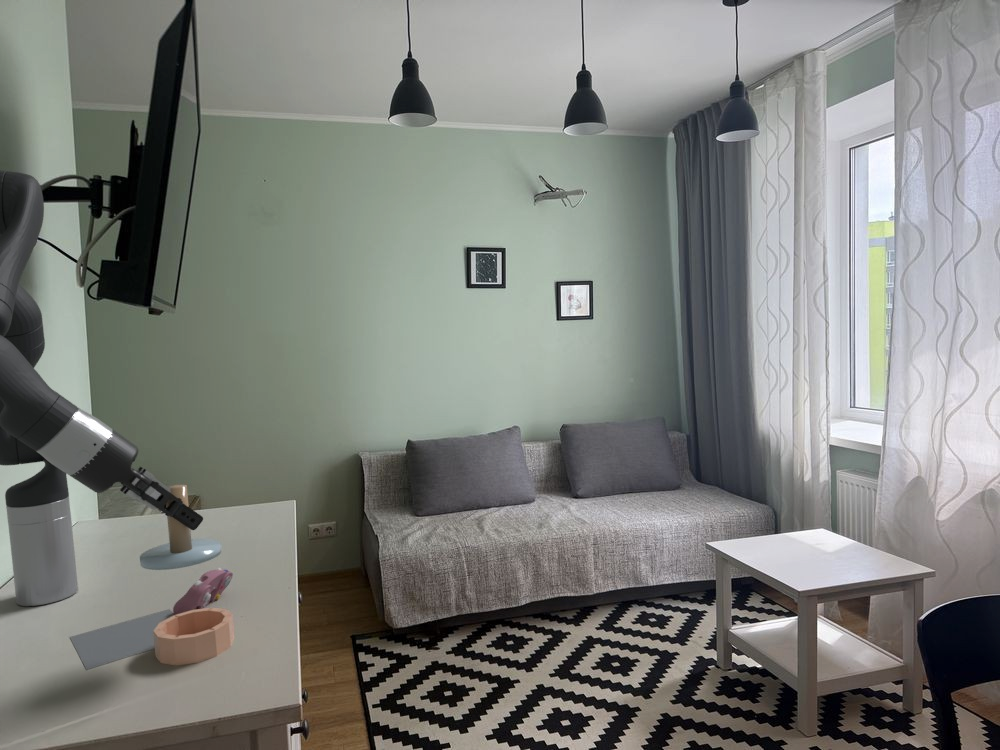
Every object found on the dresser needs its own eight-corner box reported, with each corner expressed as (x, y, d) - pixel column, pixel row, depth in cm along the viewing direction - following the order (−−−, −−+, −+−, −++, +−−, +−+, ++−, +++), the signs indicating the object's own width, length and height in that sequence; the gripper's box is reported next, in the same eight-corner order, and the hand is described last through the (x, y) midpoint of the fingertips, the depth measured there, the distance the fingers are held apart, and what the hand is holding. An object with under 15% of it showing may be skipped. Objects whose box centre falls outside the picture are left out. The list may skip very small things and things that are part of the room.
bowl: (149, 650, 100) (146, 623, 100) (220, 627, 106) (218, 602, 106) (168, 674, 92) (165, 645, 92) (243, 649, 99) (241, 622, 98)
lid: (132, 558, 99) (126, 488, 98) (208, 541, 105) (203, 475, 104) (150, 575, 91) (144, 499, 90) (231, 555, 97) (226, 485, 96)
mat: (69, 639, 105) (69, 636, 105) (169, 611, 114) (169, 609, 114) (86, 672, 94) (86, 669, 94) (195, 638, 103) (194, 635, 103)
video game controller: (192, 627, 111) (207, 589, 110) (168, 614, 111) (182, 576, 110) (227, 602, 120) (241, 567, 119) (205, 590, 121) (218, 555, 120)
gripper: (120, 431, 86) (228, 508, 95) (100, 423, 97) (198, 492, 106) (75, 481, 84) (191, 555, 92) (59, 467, 94) (164, 535, 103)
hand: (194, 521), depth 99 cm, fingers closed on lid, 2 cm apart
